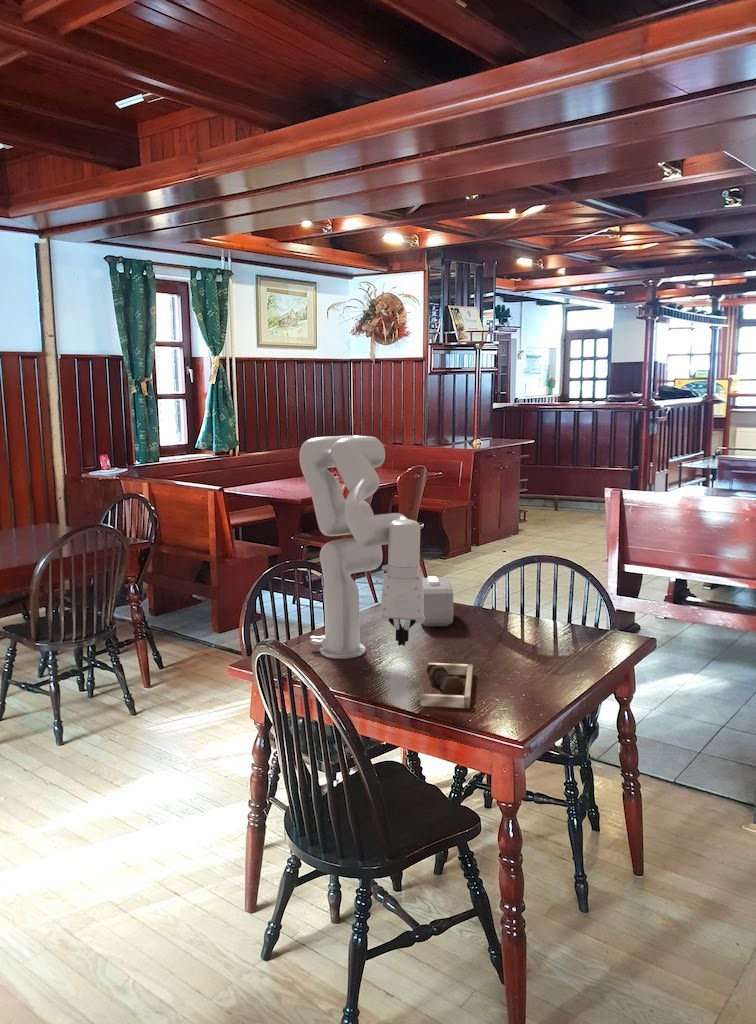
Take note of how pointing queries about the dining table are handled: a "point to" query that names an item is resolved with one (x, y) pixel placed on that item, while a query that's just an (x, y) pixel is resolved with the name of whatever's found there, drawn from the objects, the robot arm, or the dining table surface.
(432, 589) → the grey rounded box
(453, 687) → the bolt
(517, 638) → the dining table surface
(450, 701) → the dock
